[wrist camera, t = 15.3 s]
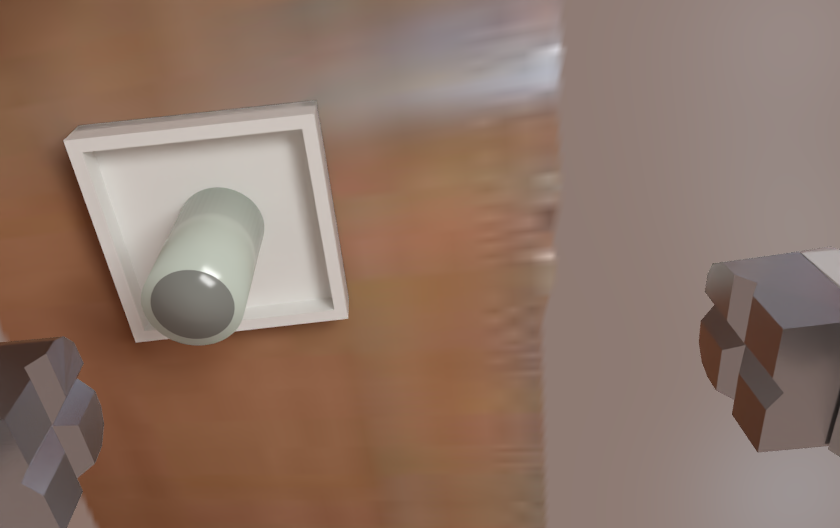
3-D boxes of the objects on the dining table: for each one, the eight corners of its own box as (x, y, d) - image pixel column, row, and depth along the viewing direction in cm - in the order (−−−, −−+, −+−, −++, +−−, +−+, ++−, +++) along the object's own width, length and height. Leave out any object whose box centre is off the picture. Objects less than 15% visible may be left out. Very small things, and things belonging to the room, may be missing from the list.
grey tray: (78, 125, 42) (63, 140, 40) (316, 100, 42) (314, 113, 40) (145, 320, 49) (135, 342, 47) (348, 298, 49) (348, 318, 47)
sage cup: (169, 192, 43) (127, 268, 35) (255, 182, 43) (231, 256, 36) (191, 265, 46) (156, 351, 38) (271, 256, 46) (253, 340, 38)
